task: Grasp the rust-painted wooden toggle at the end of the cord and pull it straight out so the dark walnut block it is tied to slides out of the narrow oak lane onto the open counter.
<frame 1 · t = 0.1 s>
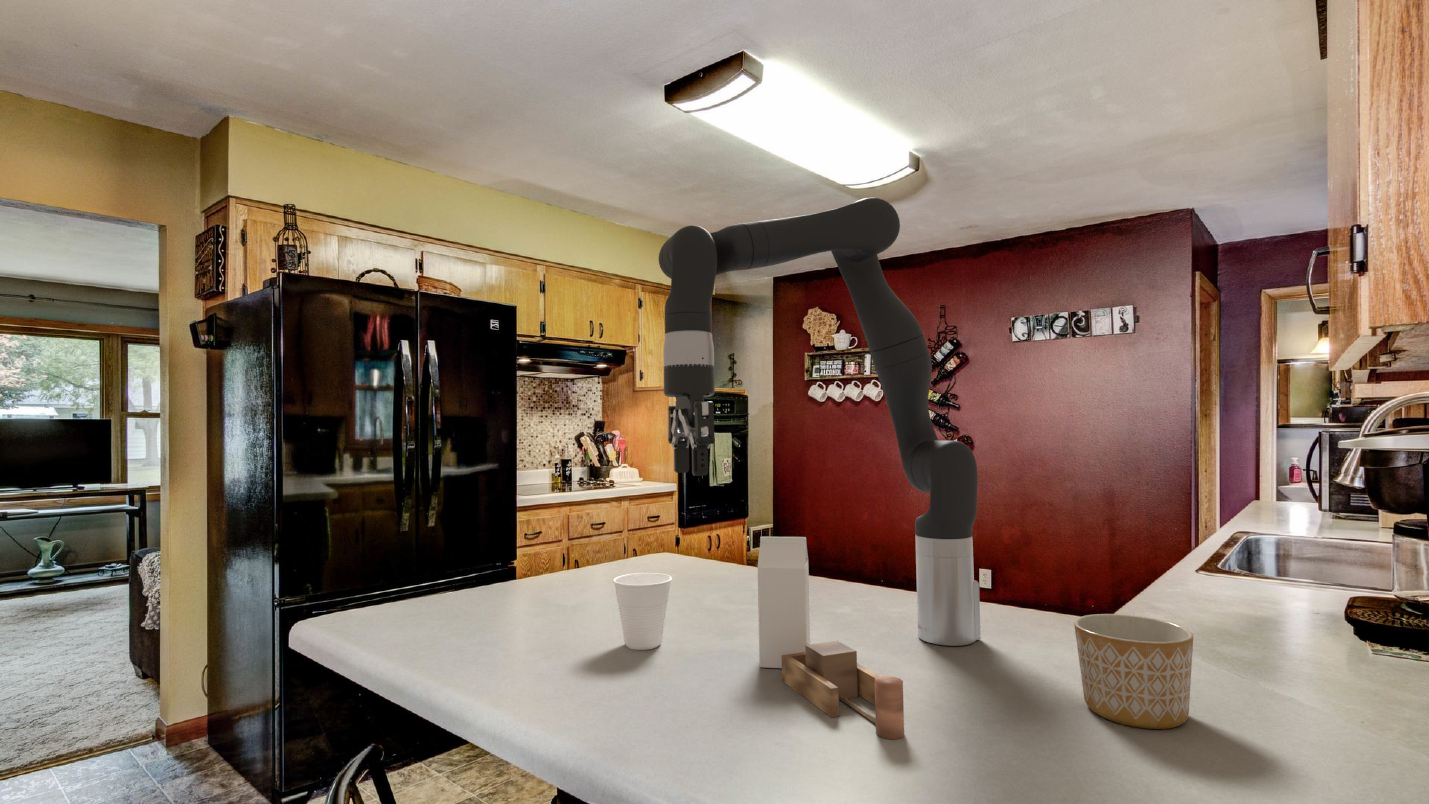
hand: (690, 474, 103), 29 cm above the countertop, fingers open, 8 cm apart
oak lane: (831, 693, 94), on the countertop
tethered walnut block: (831, 693, 94), on the countertop
cup: (643, 646, 117), on the countertop
planter: (1135, 714, 86), on the countertop
milk carton: (785, 663, 107), on the countertop
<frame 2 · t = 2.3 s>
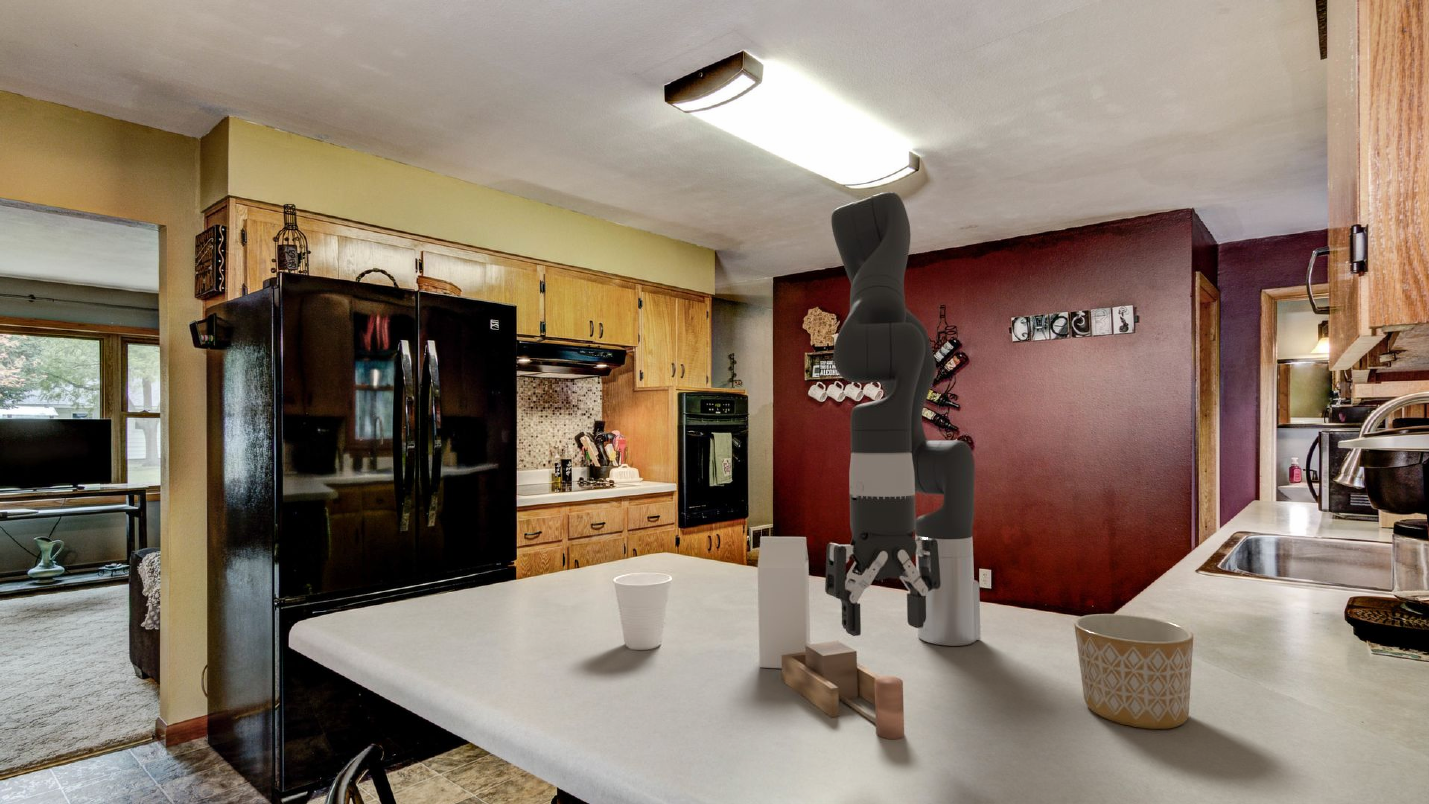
hand: (884, 630, 82), 12 cm above the countertop, fingers open, 8 cm apart
nothing on the countertop moved.
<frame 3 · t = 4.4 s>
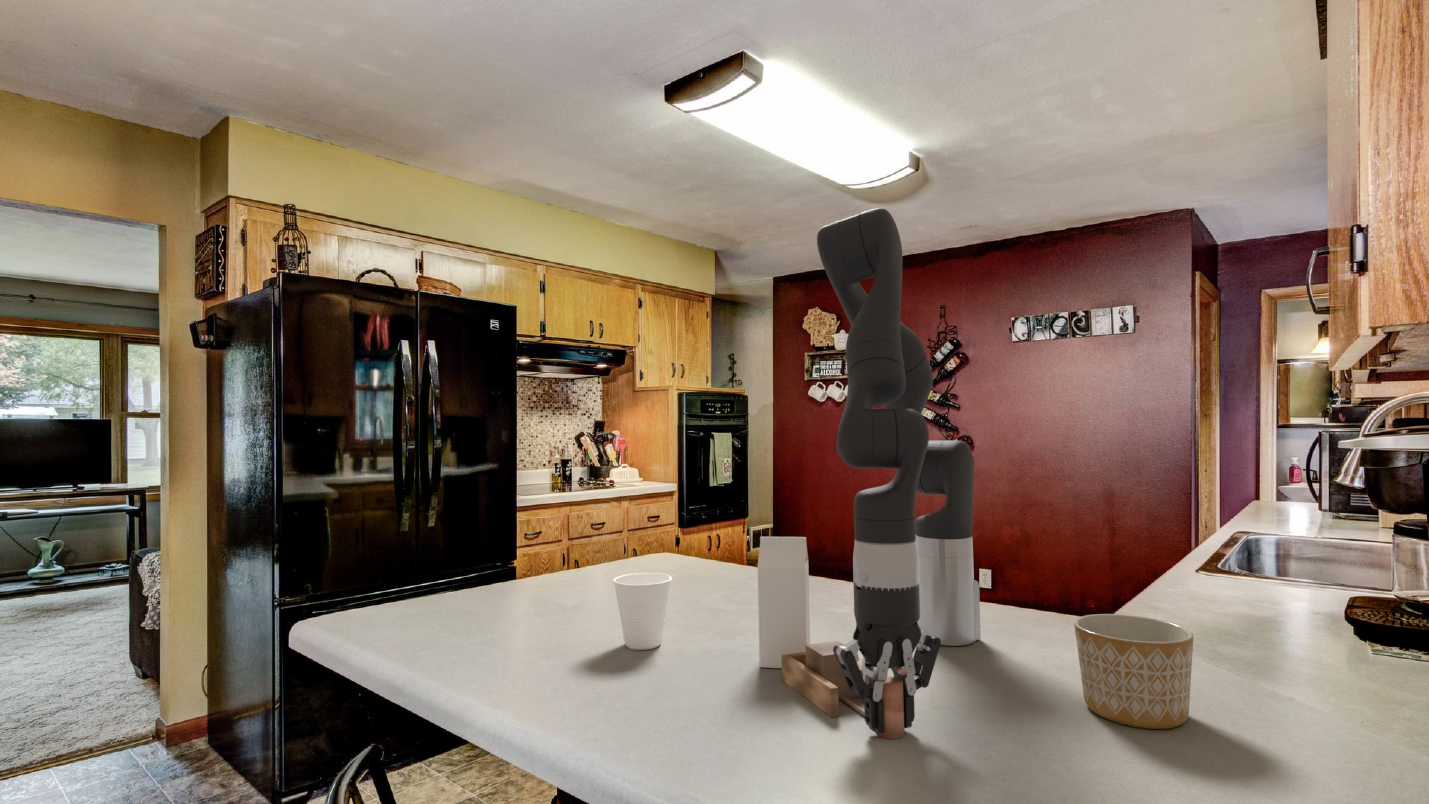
hand: (889, 727, 81), 1 cm above the countertop, fingers closed on tethered walnut block, 3 cm apart
tethered walnut block: (831, 693, 94), on the countertop, touching gripper
everything else where it was.
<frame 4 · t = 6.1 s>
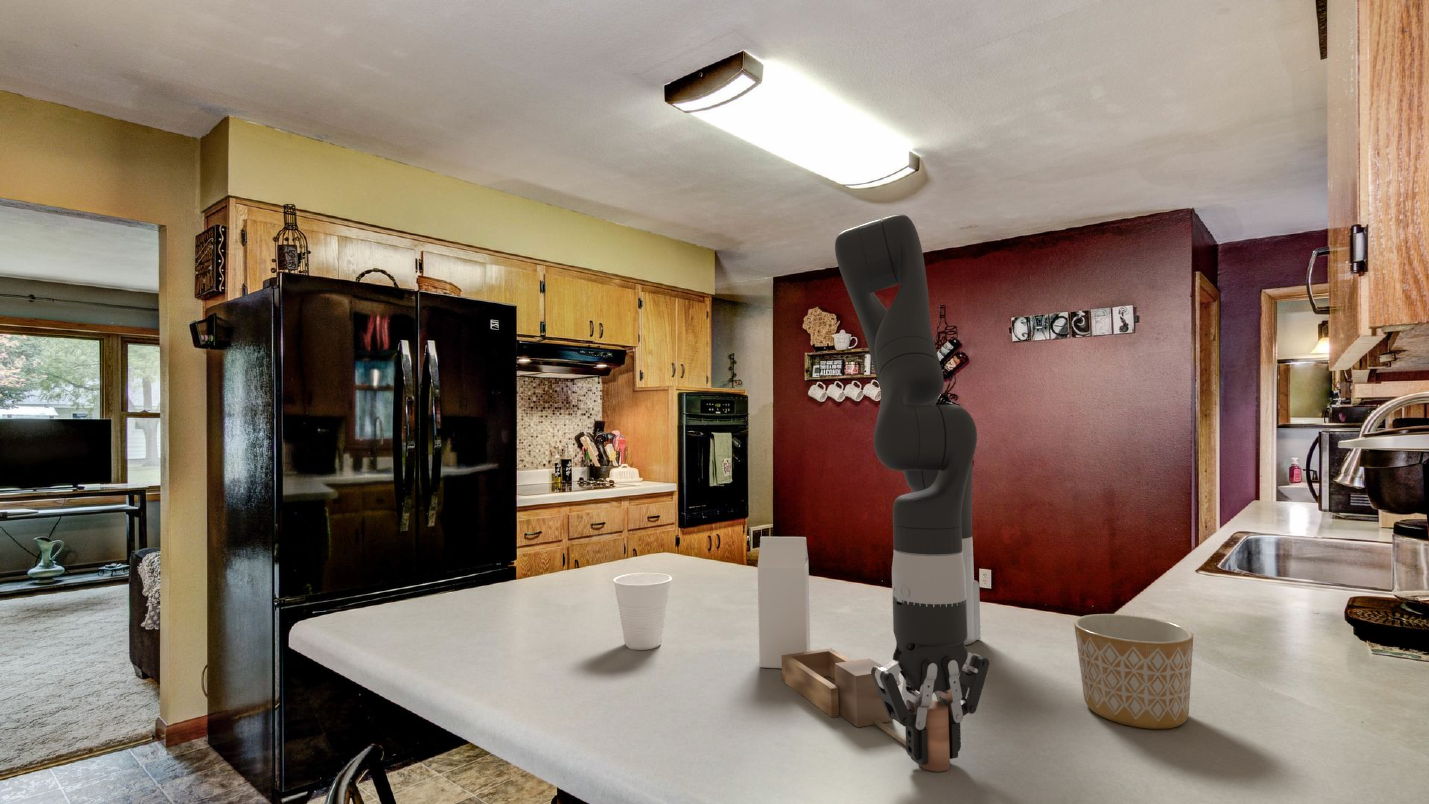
hand: (933, 757, 73), 1 cm above the countertop, fingers closed on tethered walnut block, 3 cm apart
tethered walnut block: (863, 716, 86), on the countertop, touching gripper
everything else where it was.
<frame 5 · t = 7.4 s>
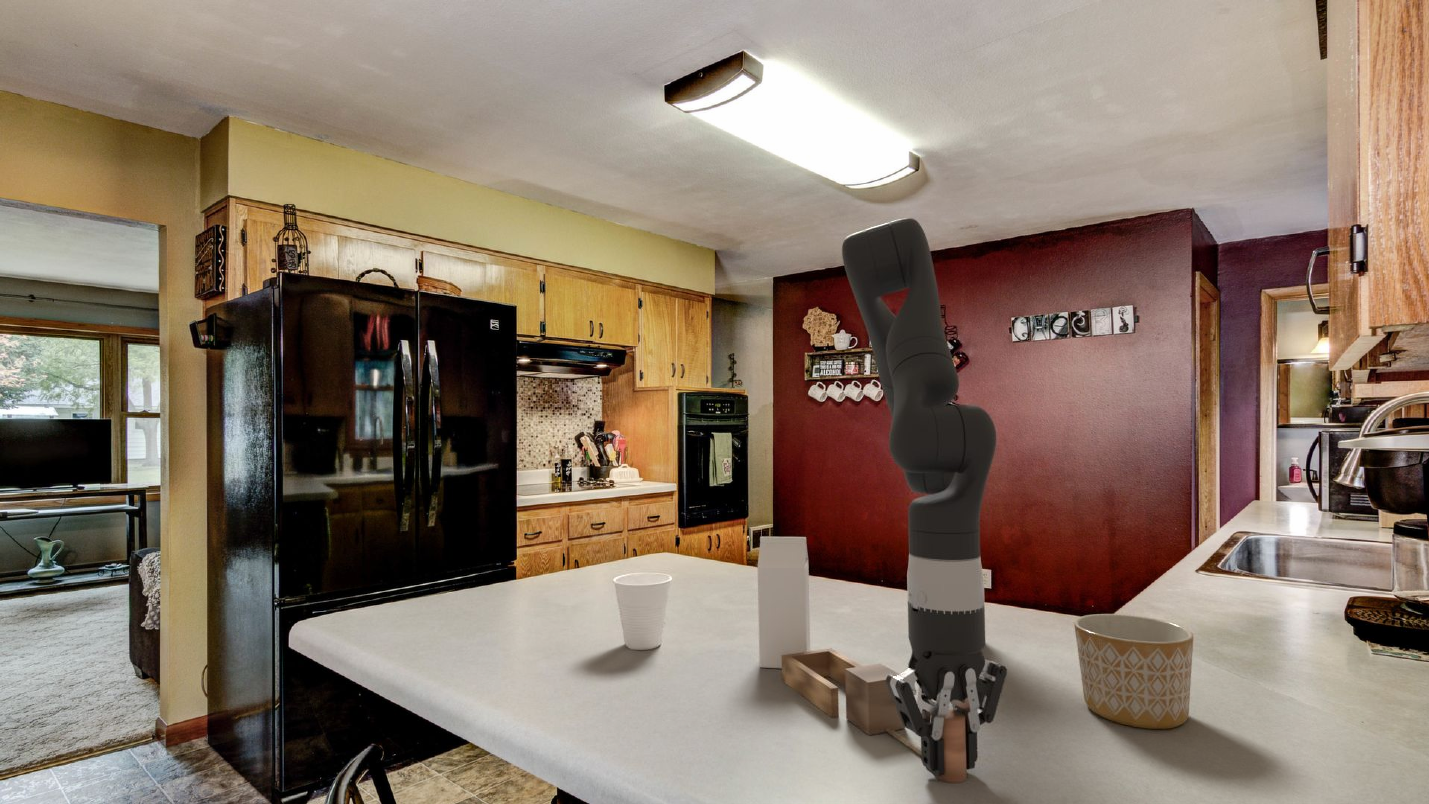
hand: (949, 768, 71), 1 cm above the countertop, fingers closed on tethered walnut block, 3 cm apart
tethered walnut block: (875, 723, 84), on the countertop, touching gripper
everything else where it was.
when the fingers open (1 cm above the countertop, at t = 7.8 s): tethered walnut block stays where it is, on the countertop.
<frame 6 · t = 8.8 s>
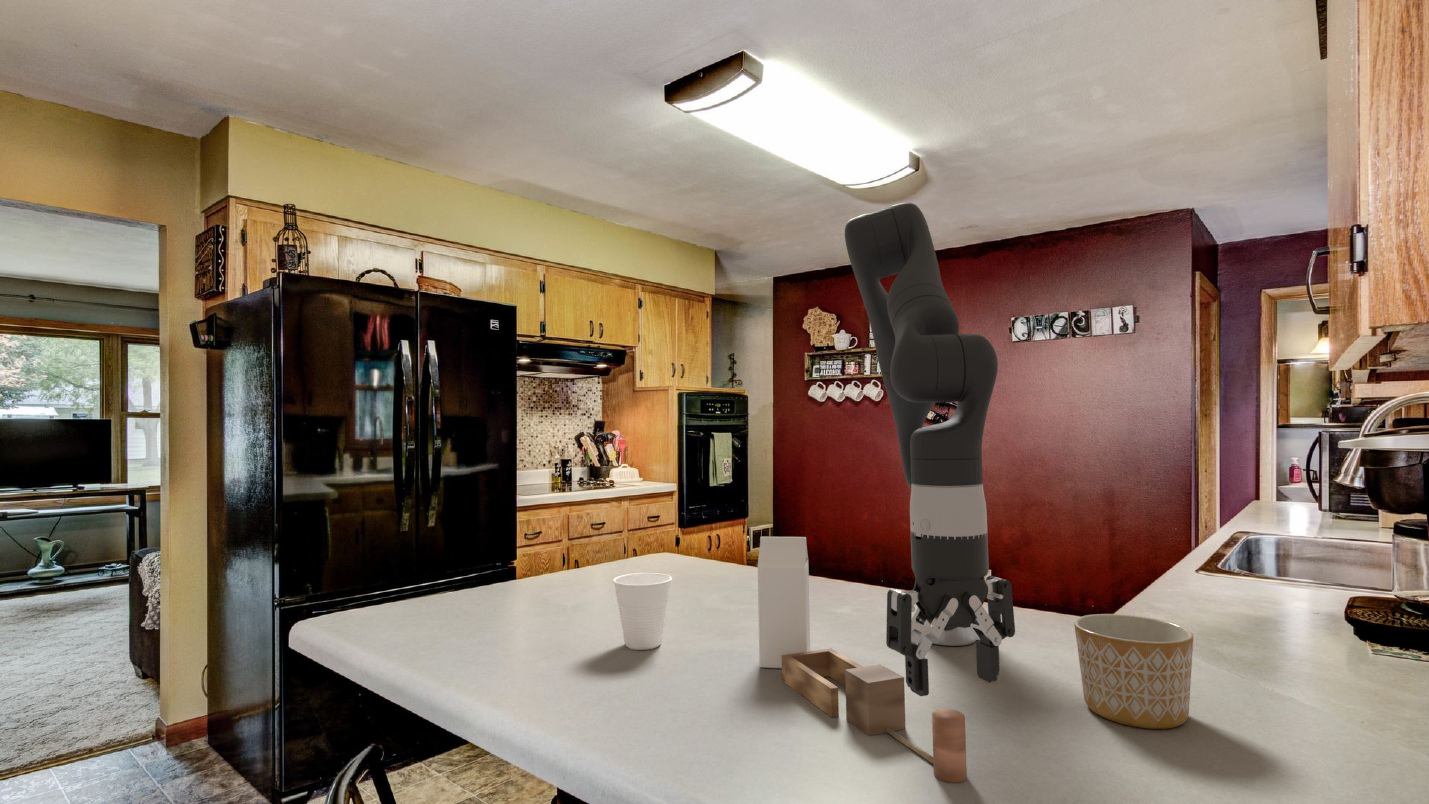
hand: (953, 686, 72), 9 cm above the countertop, fingers open, 8 cm apart
tethered walnut block: (875, 723, 84), on the countertop
everything else where it was.
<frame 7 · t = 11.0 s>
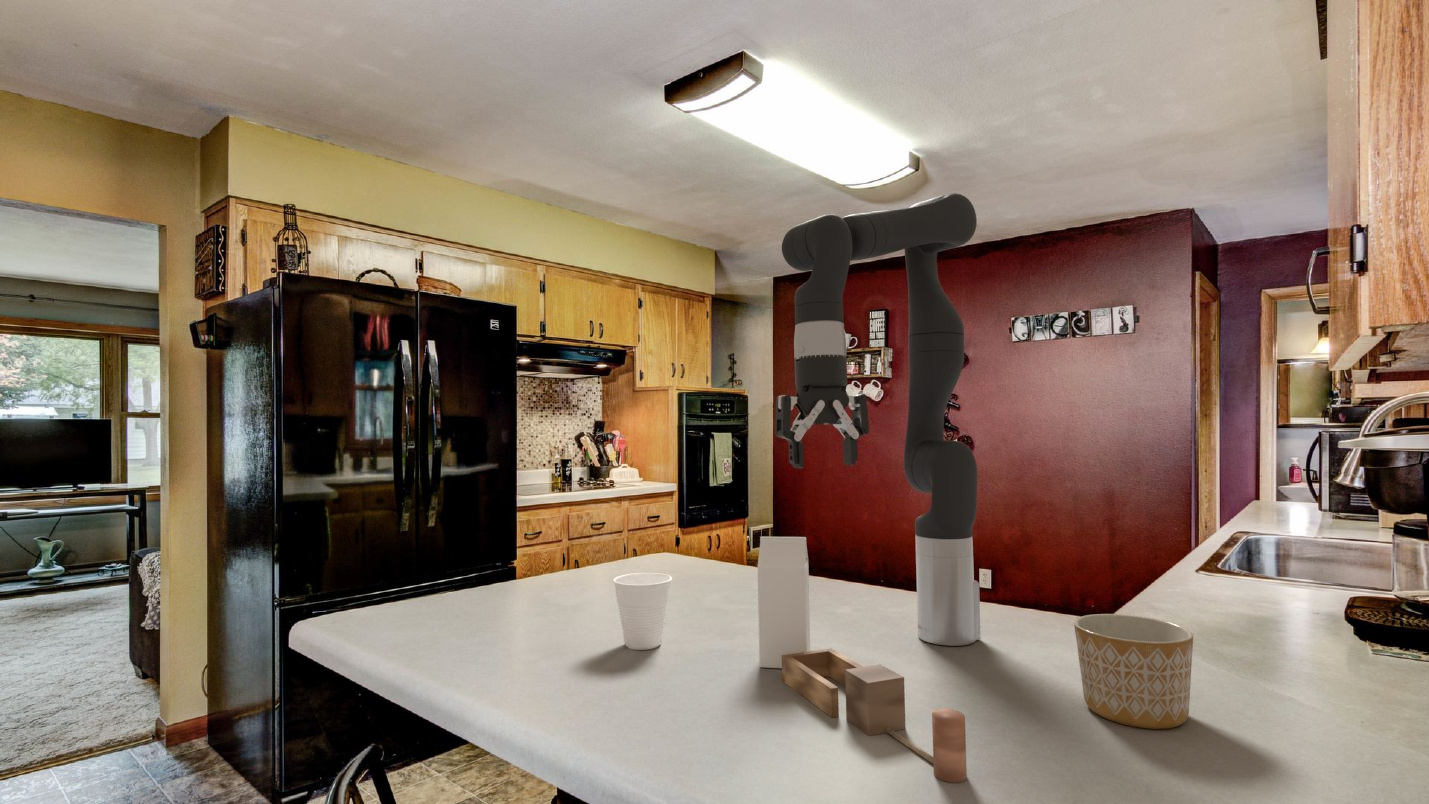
hand: (824, 466, 101), 30 cm above the countertop, fingers open, 8 cm apart
nothing on the countertop moved.
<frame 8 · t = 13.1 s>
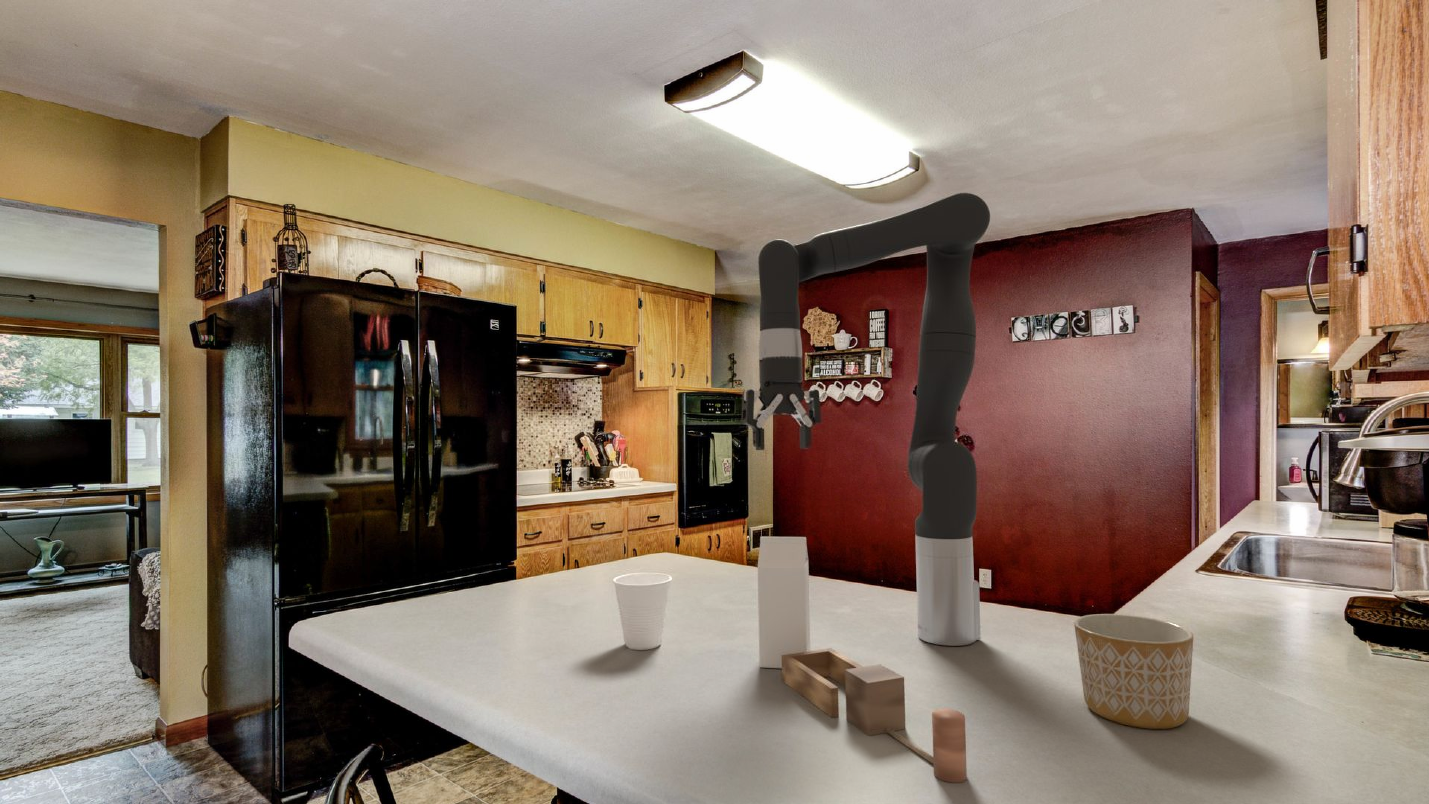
hand: (782, 449, 122), 32 cm above the countertop, fingers open, 8 cm apart
nothing on the countertop moved.
at the end: tethered walnut block inside the target area (4.1 cm from its centre), on the countertop; tethered walnut block tilted 0°; the gripper is holding nothing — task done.
